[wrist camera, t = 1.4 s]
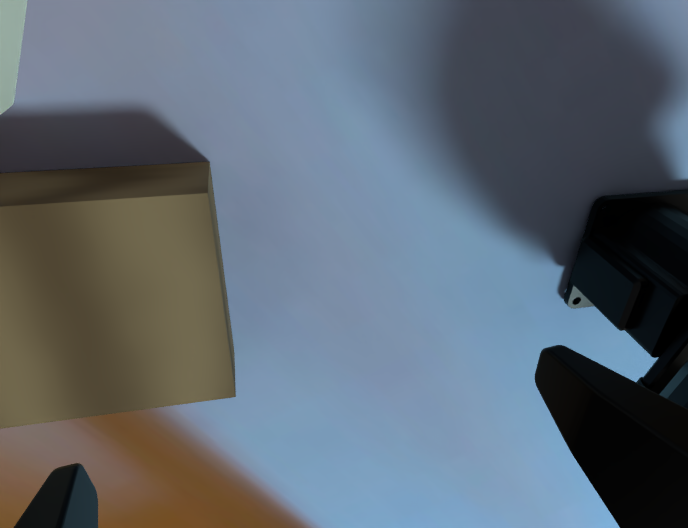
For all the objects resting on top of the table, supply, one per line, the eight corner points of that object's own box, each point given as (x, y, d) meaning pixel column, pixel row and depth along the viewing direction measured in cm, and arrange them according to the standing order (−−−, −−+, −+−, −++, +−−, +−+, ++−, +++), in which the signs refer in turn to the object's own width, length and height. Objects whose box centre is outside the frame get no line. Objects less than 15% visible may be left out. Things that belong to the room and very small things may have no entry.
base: (209, 161, 20) (207, 193, 18) (234, 352, 26) (235, 396, 23) (-76, 177, 18) (-123, 214, 16) (15, 378, 24) (-9, 429, 21)
